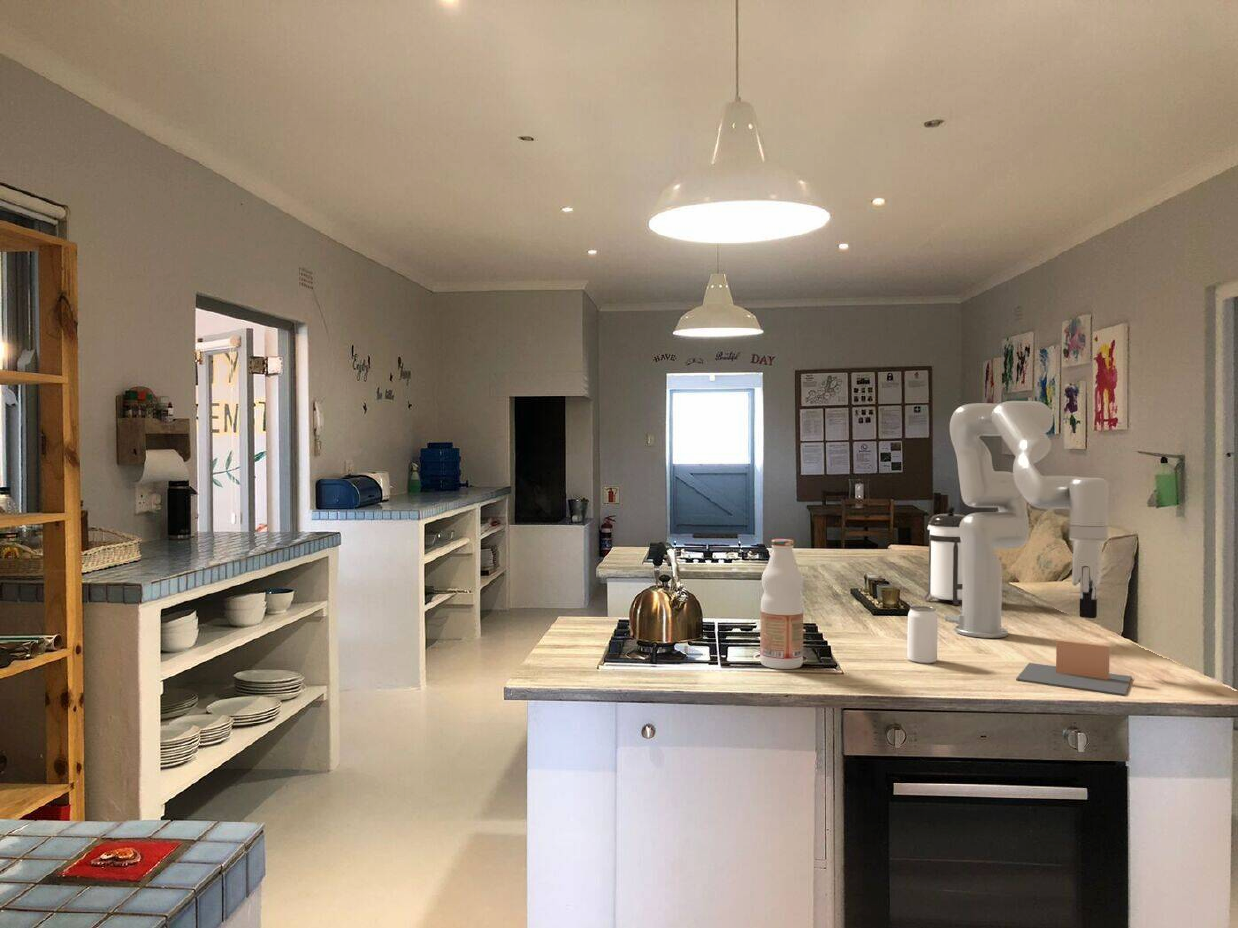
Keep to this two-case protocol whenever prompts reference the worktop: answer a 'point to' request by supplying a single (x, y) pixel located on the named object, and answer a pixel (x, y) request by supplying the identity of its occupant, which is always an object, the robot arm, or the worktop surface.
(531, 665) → the worktop surface
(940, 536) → the coffee press
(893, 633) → the worktop surface
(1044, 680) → the mat
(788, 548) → the fruit juice
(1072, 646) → the block
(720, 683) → the worktop surface
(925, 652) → the can
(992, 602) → the robot arm
